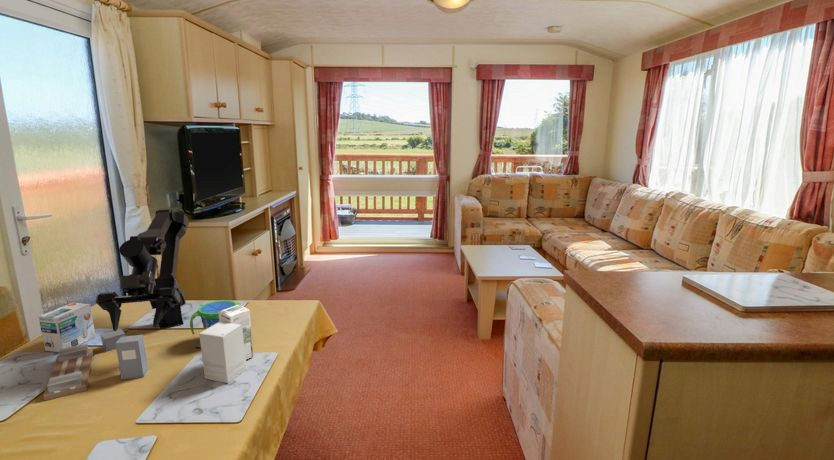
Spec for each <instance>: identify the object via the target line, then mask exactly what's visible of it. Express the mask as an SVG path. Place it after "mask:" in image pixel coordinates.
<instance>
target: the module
mask: <svg viewBox="0 0 834 460" xmlns="http://www.w3.org/2000/svg"><path fill="white" fill-rule="evenodd" d="M115 350H116V355H117V360H118V364H119V365H118V366H119V371H120V378H121V380H131V379H138V378H139V379H140V378H144V377H146V375H147V373H148V371H149V365H148V358H147V352H146V351H147V350H146V346H145V339H144V334H137V335H136V334H135V335H125V337H121V338H120V339H119V340H118V341H117V342H116V349H115Z"/></svg>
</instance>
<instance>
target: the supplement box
mask: <svg viewBox="0 0 834 460" xmlns="http://www.w3.org/2000/svg"><path fill="white" fill-rule="evenodd" d="M198 336H199V343H200V351H201V357H202V365H203V373H204V379H205V380H210V381H215V382H220V383H226V384H229V383H230V382H232V381H233V380H234V379H235V377H236V376H237V377H238V376H240V375H241V374H242V373H243V371H244V370H245V369H246V368H248V367H247V361H246V358H245V349H244V340H243V331H242V325H239V324H232V323H225V322H218V323H216V324H215V325H213V326H211V327H209V328H208V329H206V330H204V329H203V331H200V332H199V333H198ZM246 370H247V369H246ZM246 370H245V371H246ZM245 371H244V372H245ZM241 372H242V373H241ZM240 373H241V374H240ZM239 374H240V375H239ZM237 377H236V378H237ZM232 379H233V380H232Z"/></svg>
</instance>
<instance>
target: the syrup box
mask: <svg viewBox="0 0 834 460" xmlns="http://www.w3.org/2000/svg"><path fill="white" fill-rule="evenodd" d="M239 305H240V304H239ZM239 305H236V306H233V307H230V308H227V309H225V310H222V311H219V322H225V323H232V324H239V325H242V331H243V340H244V349H245V358H246V360H247V359H249V358H251V357H253V358H254V350H253V349H254V347H253V337H252V325H251V322H252V321H251V314H250V313H251V311H250V309H249V308H247V307H245V306H243V305H241V306H239ZM251 359H252V358H251ZM249 360H250V359H249ZM247 361H248V360H247Z"/></svg>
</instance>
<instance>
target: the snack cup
mask: <svg viewBox="0 0 834 460" xmlns="http://www.w3.org/2000/svg"><path fill="white" fill-rule="evenodd" d="M236 305H239V306H242V305H241V304H239V303H236V302H235V301H232V300H217V301H211V302H208V303H205V304H203V305H200V307H198V310H197V311H195V312H194V313H193V314H192V315H191V317H190V319H189V320H190V321H189V327H190V330H191V333H192V335H195V331H194V322H193V321H194V319H196V317H200V318H201V323H202V326H203V327H202V328H203V331H204V330H206V329H208V328H209V327H211V326H213V325H215V324H216V323H218V322H219V311H222V310H225V309H227V308H230V307H233V306H236Z"/></svg>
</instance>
